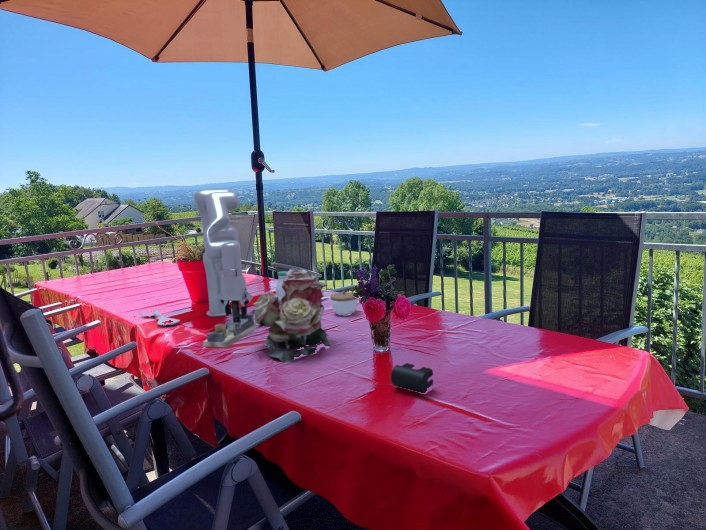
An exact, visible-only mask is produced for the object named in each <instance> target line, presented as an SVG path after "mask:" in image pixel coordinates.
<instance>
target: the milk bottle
mask: <svg viewBox="0 0 706 530" xmlns="http://www.w3.org/2000/svg"><path fill="white" fill-rule="evenodd" d="M286 272H288V270H287V271H286V270H281V271H278V272H277V277H278V279H277V283H276V286H275V295H277V296H280V297H284V296H285V291H284V290H283V288H282V284H283V279H286V278H287V276H288V275H286Z"/></svg>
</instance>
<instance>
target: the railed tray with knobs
mask: <svg viewBox="0 0 706 530" xmlns="http://www.w3.org/2000/svg"><path fill="white" fill-rule="evenodd" d="M240 319H248V323H247V324H246V325H244V326H242V327H241V328H239V329H238V330H236V331H228V330H227V329H226V334H227V338H225V337H224V333H218V332H216V331H215V330H213V331H212V332H211V331H210V332H208V333H207V334H206V339H205V340H203V341H202V346H203V348H204V347H207V348H208V347H210V348H228V347H230V346H232V345H233V344H235V343H236V342H238V341H239V340H240V339H242V338H243V337H245V336H246V335H248V334H249V333H251V332H252V331H254V330H255V329H257V323H256V322H255V321H254V319H255V318H254V314H252V313H247V314H246V315H245V316H242V315H241V313H240Z"/></svg>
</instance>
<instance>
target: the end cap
mask: <svg viewBox="0 0 706 530" xmlns="http://www.w3.org/2000/svg"><path fill="white" fill-rule="evenodd" d="M414 367H415V364H413V363H408V362H405V363H404V364H402V365H398V364H396V365H394V367H393V368H392V371H391V374H390V381H391V384H392V386H394V387H395V386H398V387H402V388H406V389H410V390H413V391H417V392H421V393H425V392H426V391H427V388H429V387H431V386H433V384H434V379H430V380H429V378H431V377H433V376H434V373H433V371H434V370H433V369H432V368H430V367H425V366H422V367H420V368H419V369H415V368H414ZM428 380H429V381H428Z"/></svg>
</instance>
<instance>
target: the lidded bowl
mask: <svg viewBox="0 0 706 530" xmlns="http://www.w3.org/2000/svg"><path fill="white" fill-rule="evenodd" d="M352 293H353V291H352V292H351V291H349V292H347V291H346V290H343V291H341V292H336V293H332V294H331V295H330V305H331V308H332V310H333V311H334V313H336V314H339V315H348V314H352V313H353V314H354V313H355V312H356V310H357V308H358V304H359V303H358V299H359V298H355V297H354V296H353V294H352ZM353 314H352V315H353Z"/></svg>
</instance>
